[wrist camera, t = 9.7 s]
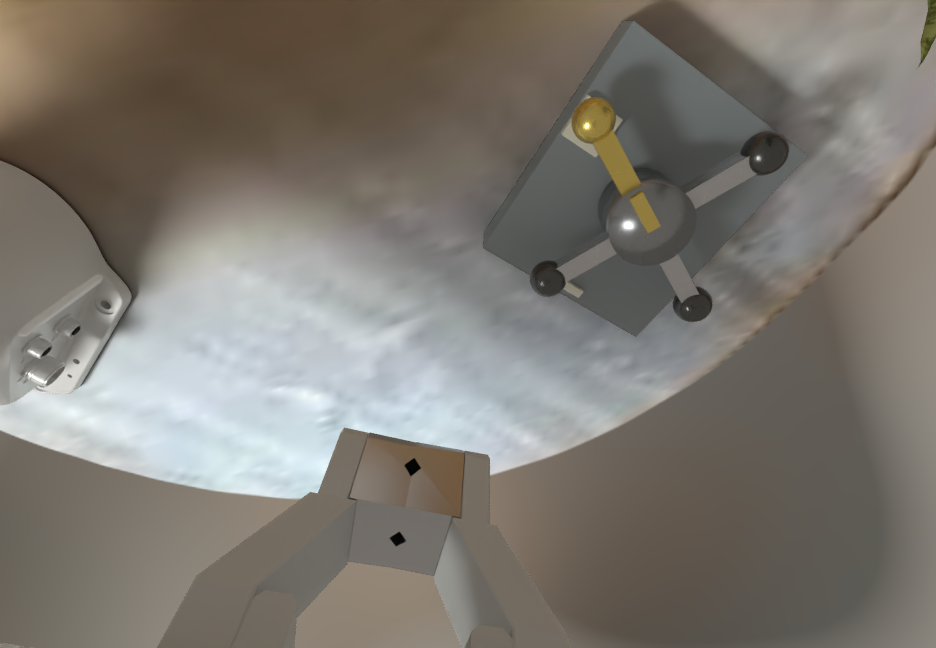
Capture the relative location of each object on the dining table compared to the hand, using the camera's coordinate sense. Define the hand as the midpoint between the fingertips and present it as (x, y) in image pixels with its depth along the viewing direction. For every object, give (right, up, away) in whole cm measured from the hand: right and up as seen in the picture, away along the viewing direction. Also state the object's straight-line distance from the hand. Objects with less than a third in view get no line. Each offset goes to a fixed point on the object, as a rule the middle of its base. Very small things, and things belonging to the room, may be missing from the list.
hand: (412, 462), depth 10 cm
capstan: (+12, +11, +22) cm, 28 cm away
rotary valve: (+12, +12, +25) cm, 31 cm away
